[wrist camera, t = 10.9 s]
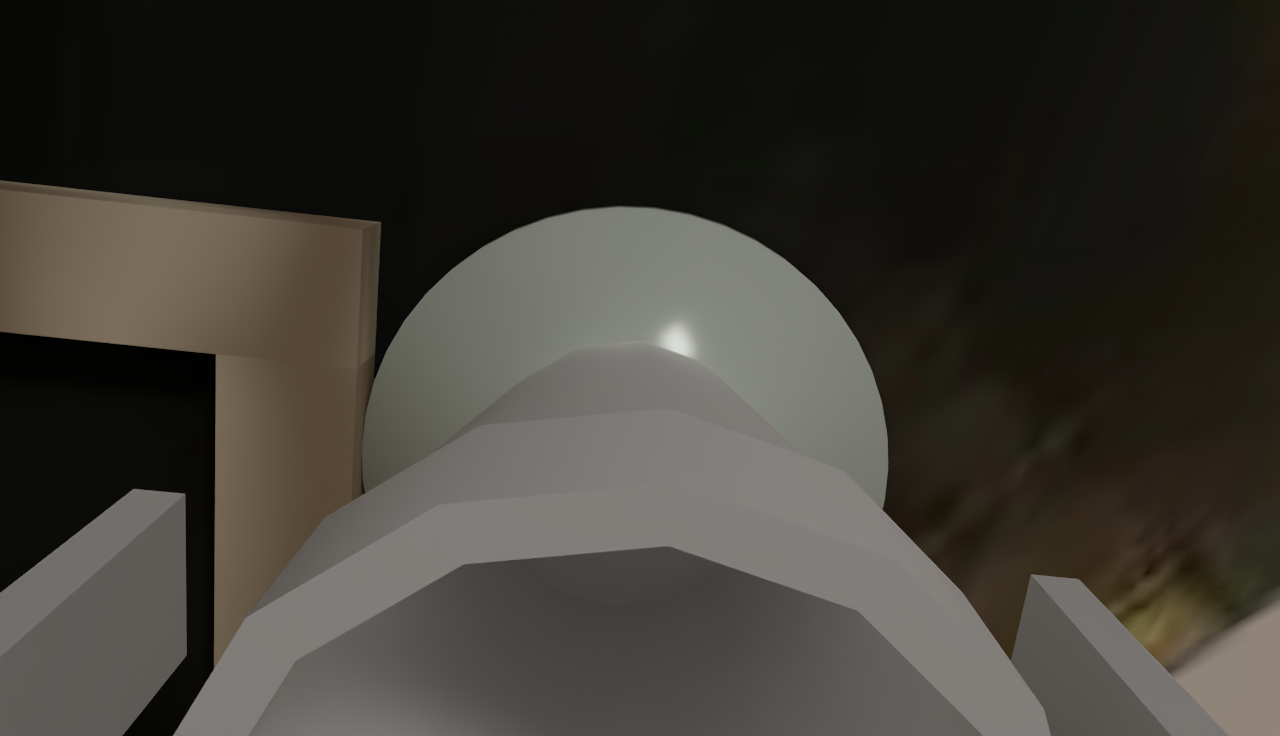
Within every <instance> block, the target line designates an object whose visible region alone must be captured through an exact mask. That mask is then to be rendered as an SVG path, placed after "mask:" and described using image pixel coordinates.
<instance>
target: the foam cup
mask: <svg viewBox="0 0 1280 736" xmlns="http://www.w3.org/2000/svg"><path fill="white" fill-rule="evenodd" d="M173 736H1051V734H1050V730H1049V726H1048V723H1047V719H1046V715H1045V711H1044V708H1043V707H1042V705H1041V704H1040V703H1039V701H1038V700H1037V698H1036V697H1035V695H1034V694H1033V693H1032V691H1031V690H1030V688H1029V687H1028V685H1027V684H1026V683H1025V681H1024V680H1023V678H1022V677H1021V675H1020V674H1019V673H1018V671H1017V670H1016V668H1015V667H1014V666H1013V664H1012V663H1011V661H1010V660H1009V658H1008V657H1007V656H1006V654H1005V653H1004V651H1003V650H1002V648H1001V647H1000V646H999V644H998V643H997V641H996V640H995V638H994V637H993V636H992V634H991V633H990V631H989V630H988V628H987V627H986V626H985V624H984V623H983V621H982V620H981V619H980V617H979V616H978V614H977V613H976V611H975V610H974V609H973V607H972V606H971V604H970V603H969V601H968V600H967V599H966V597H965V596H964V594H963V593H962V592H961V591H960V590H959V589H958V588H957V587H956V586H955V585H954V584H953V583H952V581H951V580H950V579H949V578H948V577H947V576H946V575H945V574H944V573H943V572H942V571H941V570H940V569H939V568H938V567H937V566H936V565H935V564H934V563H933V562H932V561H931V560H930V559H929V558H928V557H927V556H926V555H925V554H924V553H923V552H922V551H921V549H920V548H919V547H918V546H917V545H916V544H915V543H914V542H913V541H912V540H911V539H910V538H909V537H908V536H907V535H906V534H905V533H904V532H903V531H902V530H901V529H900V528H899V527H898V526H897V525H896V524H895V523H894V522H893V521H892V520H891V518H890V517H889V516H888V515H887V514H886V513H885V512H884V511H883V510H882V509H881V508H880V507H879V506H878V505H877V504H876V503H875V502H874V501H873V500H872V499H871V498H870V497H869V496H868V495H867V494H866V493H865V492H864V491H863V490H862V489H861V487H860V486H859V485H858V484H857V483H856V482H855V481H854V480H853V479H852V478H851V477H850V476H849V475H848V474H847V473H846V472H845V471H844V470H842V469H839V468H836V467H834V466H831V465H828V464H825V463H822V462H820V461H817V460H814V459H811V458H808V457H806V456H803V455H802V454H801V453H800V452H799V451H798V450H797V449H796V448H795V447H793V446H792V445H791V444H790V443H789V442H788V441H787V440H786V439H785V438H784V437H783V436H782V435H781V434H780V433H779V432H777V431H776V430H775V429H774V428H773V427H772V426H771V425H770V424H769V423H768V422H767V421H766V420H765V419H764V418H762V417H761V416H760V415H759V414H758V413H757V412H756V411H755V410H754V409H753V408H752V407H751V406H750V405H749V404H748V403H746V402H745V401H744V400H743V399H742V398H741V397H740V396H739V395H738V394H737V393H736V392H735V391H734V390H733V389H731V388H730V387H729V386H728V385H727V384H726V383H725V382H724V381H723V380H722V379H721V378H720V377H719V376H718V375H717V374H715V373H714V372H713V371H712V370H711V369H710V368H709V367H708V366H707V365H705V364H704V363H703V362H701V361H698V360H695V359H693V358H690V357H687V356H684V355H682V354H679V353H676V352H673V351H670V350H668V349H665V348H662V347H659V346H657V345H654V344H651V343H648V342H646V341H643V340H641V341H630V342H619V343H609V344H598V345H587V346H578V347H577V348H575V349H573V350H572V351H570V352H568V353H567V354H565V355H563V356H562V357H560V358H558V359H557V360H555V361H553V362H552V363H550V364H548V365H546V366H545V367H543V368H541V369H540V370H538V371H536V372H535V373H533V374H531V375H530V376H528V377H526V378H525V379H524V380H522V381H520V382H519V383H517V384H516V385H515V386H514V387H512V388H511V389H510V390H509V391H508V392H506V393H505V394H504V395H503V396H501V397H500V398H499V399H498V400H496V401H495V402H494V403H493V404H491V405H490V406H489V407H488V408H486V409H485V410H484V411H483V412H482V413H480V414H479V415H478V416H477V417H475V418H474V419H473V420H472V421H470V422H469V423H468V424H467V425H465V426H464V427H463V428H462V429H461V430H459V431H458V432H457V433H456V434H454V435H453V436H452V437H451V438H449V439H448V440H447V441H446V442H444V443H443V444H442V445H441V446H440V447H438V448H437V449H436V450H435V451H433V452H432V453H431V454H430V455H428V456H427V457H426V458H424V459H422V460H421V461H419V462H417V463H415V464H414V465H412V466H410V467H409V468H407V469H405V470H404V471H402V472H400V473H399V474H397V475H395V476H394V477H392V478H390V479H388V480H387V481H385V482H383V483H382V484H380V485H378V486H377V487H375V488H373V489H372V490H370V491H368V492H367V493H365V494H363V495H361V496H360V497H358V498H356V499H355V500H353V501H351V502H350V503H348V504H346V505H345V506H343V507H341V508H340V509H338V510H336V511H334V512H333V513H331V514H329V515H328V516H326V517H325V518H324V519H323V520H322V521H321V523H320V524H319V525H318V526H317V528H316V529H315V530H314V532H313V533H312V534H311V535H310V537H309V538H308V539H307V540H306V542H305V543H304V544H303V545H302V547H301V548H300V549H299V551H298V552H297V553H296V554H295V556H294V557H293V558H292V559H291V561H290V562H289V563H288V564H287V566H286V567H285V568H284V570H283V571H282V572H281V573H280V575H279V576H278V577H277V578H276V580H275V581H274V582H273V584H272V585H271V586H270V587H269V589H268V590H267V591H266V592H265V594H264V595H263V596H262V597H261V599H260V600H259V601H258V603H257V604H256V605H255V606H254V608H253V609H252V610H251V611H250V613H249V614H248V615H247V616H246V618H245V619H244V621H243V623H242V624H241V626H240V628H239V629H238V631H237V632H236V634H235V636H234V637H233V639H232V641H231V642H230V644H229V646H228V647H227V649H226V650H225V652H224V654H223V655H222V657H221V659H220V660H219V662H218V663H217V665H216V667H215V668H214V670H213V672H212V673H211V675H210V677H209V678H208V680H207V681H206V683H205V685H204V686H203V688H202V690H201V691H200V693H199V695H198V696H197V698H196V699H195V701H194V703H193V704H192V706H191V708H190V709H189V711H188V712H187V714H186V716H185V717H184V719H183V721H182V722H181V724H180V726H179V727H178V729H177V730H176V732H175V734H174V735H173Z"/></svg>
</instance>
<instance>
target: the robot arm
mask: <svg viewBox="0 0 1280 736" xmlns="http://www.w3.org/2000/svg"><path fill="white" fill-rule="evenodd" d="M186 655H187V640H186V529H185V494H181V493H171V492H160V491H150V490H139V489H133V490H132V491H131V492H129V493H128V494H127V495H125V496H124V497H123V498H122V499H120V500H119V501H118V502H116V503H115V504H114V505H113V506H111V507H110V508H109V509H107V510H106V511H105V512H104V513H102V514H101V515H100V516H99V517H97V518H96V519H95V520H93V521H92V522H91V523H90V524H88V525H87V526H86V527H84V528H83V529H82V530H81V531H79V532H78V533H77V534H75V535H74V536H73V537H72V538H70V539H69V540H68V541H66V542H65V543H64V544H63V545H61V546H60V547H59V548H57V549H56V550H55V551H54V552H52V553H51V554H50V555H48V556H47V557H46V558H45V559H43V560H42V561H41V562H39V563H38V564H37V565H36V566H34V567H33V568H32V569H30V570H29V571H28V572H27V573H25V574H24V575H23V576H21V577H20V578H19V579H18V580H16V581H15V582H14V583H12V584H11V585H10V586H9V587H7V588H6V589H5V590H3V591H2V592H1V593H0V736H122V735H123V734H124V733H125V732H126V730H127V729H128V728H129V727H130V725H131V724H132V723H133V722H134V720H135V719H136V718H137V717H138V715H139V714H140V713H141V712H142V710H143V709H144V708H145V707H146V705H147V704H148V703H149V702H150V700H151V699H152V698H153V697H154V695H155V694H156V693H157V692H158V690H159V689H160V688H161V687H162V685H163V684H164V683H165V682H166V680H167V679H168V678H169V677H170V675H171V674H172V673H173V672H174V670H175V669H176V668H177V667H178V665H179V664H180V663H181V662H182V660H183V659H184V658H185V657H186ZM1011 663H1012V664H1013V666H1014V667H1015V668H1016V670H1017V671H1018V673H1019V674H1020V675H1021V677H1022V678H1023V680H1024V681H1025V683H1026V684H1027V685H1028V687H1029V688H1030V690H1031V691H1032V693H1033V694H1034V695H1035V697H1036V698H1037V700H1038V701H1039V703H1040V704H1041V705H1042V707H1043V708H1044V711H1045V715H1046V719H1047V723H1048V726H1049V730H1050V734H1051V736H1229V735H1228V734H1227V733H1226V732H1225V731H1224V730H1223V729H1222V728H1221V727H1220V726H1219V724H1218V723H1216V721H1215V720H1214V719H1213V718H1212V717H1211V716H1210V715H1209V714H1208V713H1207V712H1206V711H1205V710H1204V709H1203V708H1202V707H1201V706H1200V705H1199V704H1198V703H1197V702H1196V701H1195V700H1194V699H1193V697H1192V696H1191V695H1189V693H1188V692H1187V691H1186V690H1185V689H1184V688H1183V687H1182V686H1181V685H1180V684H1179V683H1178V682H1177V681H1176V680H1175V679H1174V678H1173V677H1172V676H1171V675H1170V674H1169V673H1168V672H1167V670H1166V669H1165V668H1164V667H1163V666H1162V665H1161V664H1160V663H1159V662H1158V661H1157V660H1156V659H1155V658H1154V657H1153V656H1152V655H1151V654H1150V653H1149V652H1148V651H1147V650H1146V649H1145V648H1144V647H1143V646H1142V644H1141V643H1140V642H1139V641H1138V640H1137V639H1136V638H1135V637H1134V636H1133V635H1132V634H1131V633H1130V632H1129V631H1128V630H1127V629H1126V628H1125V627H1124V626H1123V625H1122V624H1121V623H1120V622H1119V621H1118V620H1117V619H1116V617H1115V616H1114V615H1113V614H1112V613H1111V612H1110V611H1109V610H1108V609H1107V608H1106V607H1105V606H1104V605H1103V604H1102V603H1101V602H1100V601H1099V600H1098V599H1097V598H1096V597H1095V596H1094V595H1093V594H1092V593H1091V592H1090V590H1089V589H1088V588H1087V587H1086V586H1085V585H1084V584H1083V583H1082V582H1081V581H1080V580H1079V579H1072V578H1062V577H1051V576H1041V575H1031V577H1030V582H1029V586H1028V590H1027V594H1026V599H1025V603H1024V607H1023V612H1022V616H1021V620H1020V624H1019V629H1018V633H1017V637H1016V642H1015V646H1014V650H1013V654H1012V659H1011Z"/></svg>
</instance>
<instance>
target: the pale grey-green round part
mask: <svg viewBox="0 0 1280 736" xmlns="http://www.w3.org/2000/svg"><path fill="white" fill-rule="evenodd" d="M641 340H643V341H646V342H648V343H651V344H654V345H657V346H659V347H662V348H665V349H668V350H670V351H673V352H676V353H679V354H682V355H684V356H687V357H690V358H693V359H695V360H698V361H701V362H703V363H704V364H705V365H707V366H708V367H709V368H710V369H711V370H712V371H713V372H714V373H715V374H717V375H718V376H719V377H720V378H721V379H722V380H723V381H724V382H725V383H726V384H727V385H728V386H729V387H730V388H731V389H733V390H734V391H735V392H736V393H737V394H738V395H739V396H740V397H741V398H742V399H743V400H744V401H745V402H746V403H748V404H749V405H750V406H751V407H752V408H753V409H754V410H755V411H756V412H757V413H758V414H759V415H760V416H761V417H762V418H764V419H765V420H766V421H767V422H768V423H769V424H770V425H771V426H772V427H773V428H774V429H775V430H776V431H777V432H779V433H780V434H781V435H782V436H783V437H784V438H785V439H786V440H787V441H788V442H789V443H790V444H791V445H792V446H793V447H795V448H796V449H797V450H798V451H799V452H800V453H801V454H802V455H803V456H806V457H808V458H811V459H814V460H817V461H820V462H822V463H825V464H828V465H831V466H834V467H836V468H839V469H842V470H844V471H845V472H846V473H847V474H848V475H849V476H850V477H851V478H852V479H853V480H854V481H855V482H856V483H857V484H858V485H859V486H860V487H861V489H862V490H863V491H864V492H865V493H866V494H867V495H868V496H869V497H870V498H871V499H872V500H873V501H874V502H875V503H876V504H877V505H878V506H879V507H880V508H881V509H882V508H883V504H884V500H885V491H886V483H887V474H888V444H887V431H886V425H885V419H884V413H883V407H882V402H881V399H880V395H879V392H878V389H877V386H876V383H875V379H874V376H873V373H872V370H871V368H870V366H869V364H868V362H867V360H866V358H865V356H864V353H863V351H862V349H861V347H860V345H859V343H858V341H857V339H856V338H855V336H854V335H853V333H852V332H851V330H850V329H849V327H848V326H847V324H846V323H845V321H844V320H843V318H842V316H841V315H840V313H839V312H838V311H837V310H836V308H835V307H834V306H833V305H832V304H831V303H830V302H829V301H828V299H827V298H826V297H825V296H824V295H823V294H822V293H821V291H820V290H819V289H818V288H817V287H816V286H815V285H814V284H813V283H812V282H811V281H810V280H809V279H807V278H806V277H805V276H804V275H803V274H802V273H800V272H799V271H798V270H797V269H796V268H795V267H793V266H792V265H791V264H790V263H789V262H788V261H787V260H785V259H784V258H783V257H782V256H780V255H778V254H777V253H775V252H774V251H772V250H771V249H769V248H768V247H766V246H765V245H763V244H762V243H760V242H758V241H757V240H755V239H754V238H752V237H749V236H747V235H745V234H743V233H741V232H739V231H737V230H735V229H733V228H731V227H728V226H726V225H724V224H722V223H719V222H716V221H712V220H709V219H706V218H703V217H700V216H697V215H694V214H690V213H686V212H680V211H675V210H669V209H663V208H658V207H645V206H623V205H617V206H606V207H594V208H584V209H579V210H575V211H570V212H566V213H561V214H557V215H552V216H548V217H546V218H543V219H540V220H538V221H535V222H532V223H529V224H527V225H524V226H521V227H519V228H516V229H514V230H512V231H510V232H509V233H507V234H505V235H503V236H501V237H499V238H497V239H495V240H493V241H492V242H490V243H488V244H486V245H485V246H483V247H482V248H480V249H479V250H478V251H476V252H475V253H473V254H472V255H471V256H469V257H468V258H466V259H465V260H464V261H462V262H461V263H459V264H458V265H457V266H456V267H454V268H453V269H452V270H451V271H450V272H449V273H447V274H446V275H445V276H444V277H443V278H442V279H441V280H440V281H439V282H438V283H437V284H436V285H435V286H434V287H433V288H432V289H431V290H430V291H429V292H427V293H426V295H425V296H424V297H423V298H422V300H421V301H420V302H419V303H418V305H417V306H416V307H415V308H414V310H413V311H412V312H411V313H410V315H409V316H408V317H407V318H406V320H405V321H404V322H403V324H402V326H401V328H400V329H399V331H398V333H397V334H396V336H395V338H394V339H393V341H392V343H391V344H390V346H389V348H388V350H387V352H386V354H385V356H384V359H383V361H382V364H381V366H380V368H379V371H378V373H377V376H376V378H375V380H374V383H373V387H372V391H371V395H370V399H369V403H368V407H367V410H366V415H365V423H364V432H363V441H362V473H363V485H364V491H365V493H367V492H368V491H370V490H372V489H373V488H375V487H377V486H378V485H380V484H382V483H383V482H385V481H387V480H388V479H390V478H392V477H394V476H395V475H397V474H399V473H400V472H402V471H404V470H405V469H407V468H409V467H410V466H412V465H414V464H415V463H417V462H419V461H421V460H422V459H424V458H426V457H427V456H428V455H430V454H431V453H432V452H433V451H435V450H436V449H437V448H438V447H440V446H441V445H442V444H443V443H444V442H446V441H447V440H448V439H449V438H451V437H452V436H453V435H454V434H456V433H457V432H458V431H459V430H461V429H462V428H463V427H464V426H465V425H467V424H468V423H469V422H470V421H472V420H473V419H474V418H475V417H477V416H478V415H479V414H480V413H482V412H483V411H484V410H485V409H486V408H488V407H489V406H490V405H491V404H493V403H494V402H495V401H496V400H498V399H499V398H500V397H501V396H503V395H504V394H505V393H506V392H508V391H509V390H510V389H511V388H512V387H514V386H515V385H516V384H517V383H519V382H520V381H522V380H524V379H525V378H526V377H528V376H530V375H531V374H533V373H535V372H536V371H538V370H540V369H541V368H543V367H545V366H546V365H548V364H550V363H552V362H553V361H555V360H557V359H558V358H560V357H562V356H563V355H565V354H567V353H568V352H570V351H572V350H573V349H575V348H577V347H578V346H587V345H598V344H609V343H619V342H630V341H641Z"/></svg>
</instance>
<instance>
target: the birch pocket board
mask: <svg viewBox="0 0 1280 736" xmlns="http://www.w3.org/2000/svg"><path fill="white" fill-rule="evenodd" d="M380 232H381V222H374V221H365V220H355V219H346V218H337V217H328V216H319V215H310V214H301V213H292V212H283V211H273V210H264V209H255V208H246V207H237V206H228V205H219V204H210V203H200V202H191V201H182V200H173V199H164V198H155V197H146V196H137V195H127V194H118V193H109V192H100V191H91V190H82V189H73V188H64V187H54V186H45V185H36V184H27V183H18V182H9V181H0V332H9V333H18V334H28V335H37V336H47V337H56V338H66V339H75V340H85V341H94V342H104V343H114V344H123V345H133V346H142V347H152V348H161V349H171V350H180V351H190V352H199V353H209V354H216V425H215V588H214V668H215V667H216V665H217V663H218V662H219V660H220V659H221V657H222V655H223V654H224V652H225V650H226V649H227V647H228V646H229V644H230V642H231V641H232V639H233V637H234V636H235V634H236V632H237V631H238V629H239V628H240V626H241V624H242V623H243V621H244V619H245V618H246V616H247V615H248V614H249V613H250V611H251V610H252V609H253V608H254V606H255V605H256V604H257V603H258V601H259V600H260V599H261V597H262V596H263V595H264V594H265V592H266V591H267V590H268V589H269V587H270V586H271V585H272V584H273V582H274V581H275V580H276V578H277V577H278V576H279V575H280V573H281V572H282V571H283V570H284V568H285V567H286V566H287V564H288V563H289V562H290V561H291V559H292V558H293V557H294V556H295V554H296V553H297V552H298V551H299V549H300V548H301V547H302V545H303V544H304V543H305V542H306V540H307V539H308V538H309V537H310V535H311V534H312V533H313V532H314V530H315V529H316V528H317V526H318V525H319V524H320V523H321V521H322V520H323V519H324V518H325V517H326V516H328V515H329V514H331V513H333V512H334V511H336V510H338V509H340V508H341V507H343V506H345V505H346V504H348V503H350V502H351V501H353V500H355V499H356V498H358V497H360V496H361V495H363V494H365V491H364V485H363V473H362V441H363V432H364V423H365V415H366V410H367V407H368V403H369V399H370V395H371V391H372V387H373V383H374V361H375V340H376V318H377V297H378V275H379V253H380Z"/></svg>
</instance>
